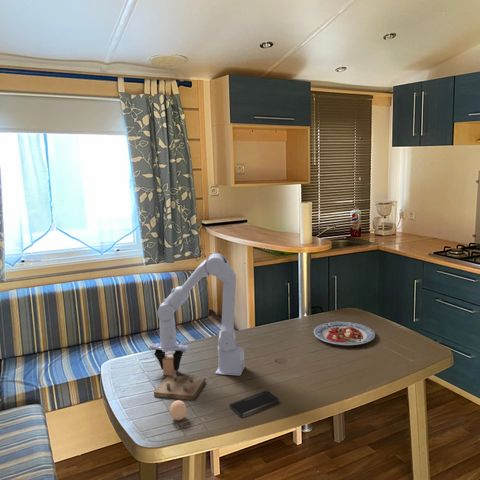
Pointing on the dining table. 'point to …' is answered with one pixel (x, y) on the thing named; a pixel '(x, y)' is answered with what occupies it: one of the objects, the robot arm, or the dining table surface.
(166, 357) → the pink block
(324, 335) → the ceramic plate
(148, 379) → the dining table surface
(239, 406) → the phone
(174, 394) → the peg stand
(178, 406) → the egg
